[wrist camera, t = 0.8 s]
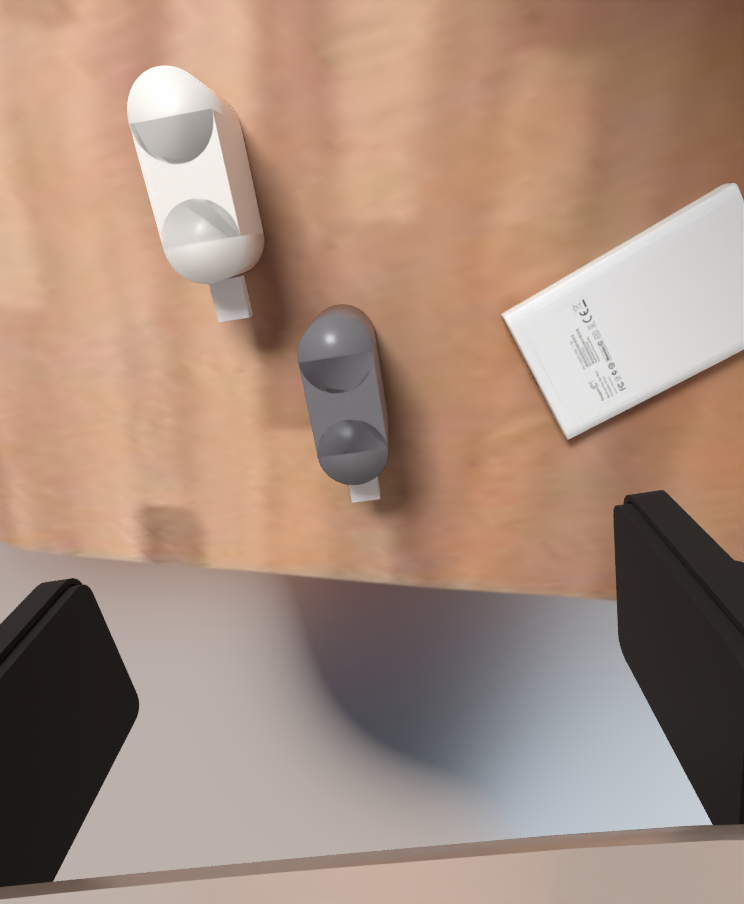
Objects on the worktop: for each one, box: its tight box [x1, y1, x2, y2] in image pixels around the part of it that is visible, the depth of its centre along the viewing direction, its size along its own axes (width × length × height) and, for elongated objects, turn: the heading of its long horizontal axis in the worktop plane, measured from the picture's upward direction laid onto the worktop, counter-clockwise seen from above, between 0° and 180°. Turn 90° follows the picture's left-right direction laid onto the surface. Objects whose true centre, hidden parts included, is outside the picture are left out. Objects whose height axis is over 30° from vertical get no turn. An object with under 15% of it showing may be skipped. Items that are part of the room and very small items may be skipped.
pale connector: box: [127, 66, 264, 322], centre depth 28 cm, size 11×4×5 cm, turn 9°
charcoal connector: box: [298, 304, 388, 503], centre depth 31 cm, size 11×4×5 cm, turn 9°
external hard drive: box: [501, 183, 744, 439], centre depth 31 cm, size 2×8×12 cm
